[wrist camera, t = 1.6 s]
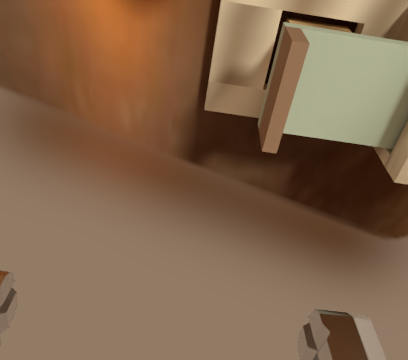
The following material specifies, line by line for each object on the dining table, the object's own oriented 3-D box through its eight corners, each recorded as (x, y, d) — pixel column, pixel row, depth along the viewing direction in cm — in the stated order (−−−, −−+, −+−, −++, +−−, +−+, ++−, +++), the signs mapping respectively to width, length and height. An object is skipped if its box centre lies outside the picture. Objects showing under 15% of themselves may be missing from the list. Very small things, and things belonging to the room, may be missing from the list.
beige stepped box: (543, 9, 30) (673, 56, 21) (460, 140, 37) (532, 215, 28) (227, -44, 29) (229, -17, 20) (204, 102, 36) (198, 169, 27)
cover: (490, 55, 25) (529, 78, 22) (435, 149, 30) (460, 179, 27) (283, 21, 25) (292, 40, 22) (257, 123, 29) (261, 151, 26)
